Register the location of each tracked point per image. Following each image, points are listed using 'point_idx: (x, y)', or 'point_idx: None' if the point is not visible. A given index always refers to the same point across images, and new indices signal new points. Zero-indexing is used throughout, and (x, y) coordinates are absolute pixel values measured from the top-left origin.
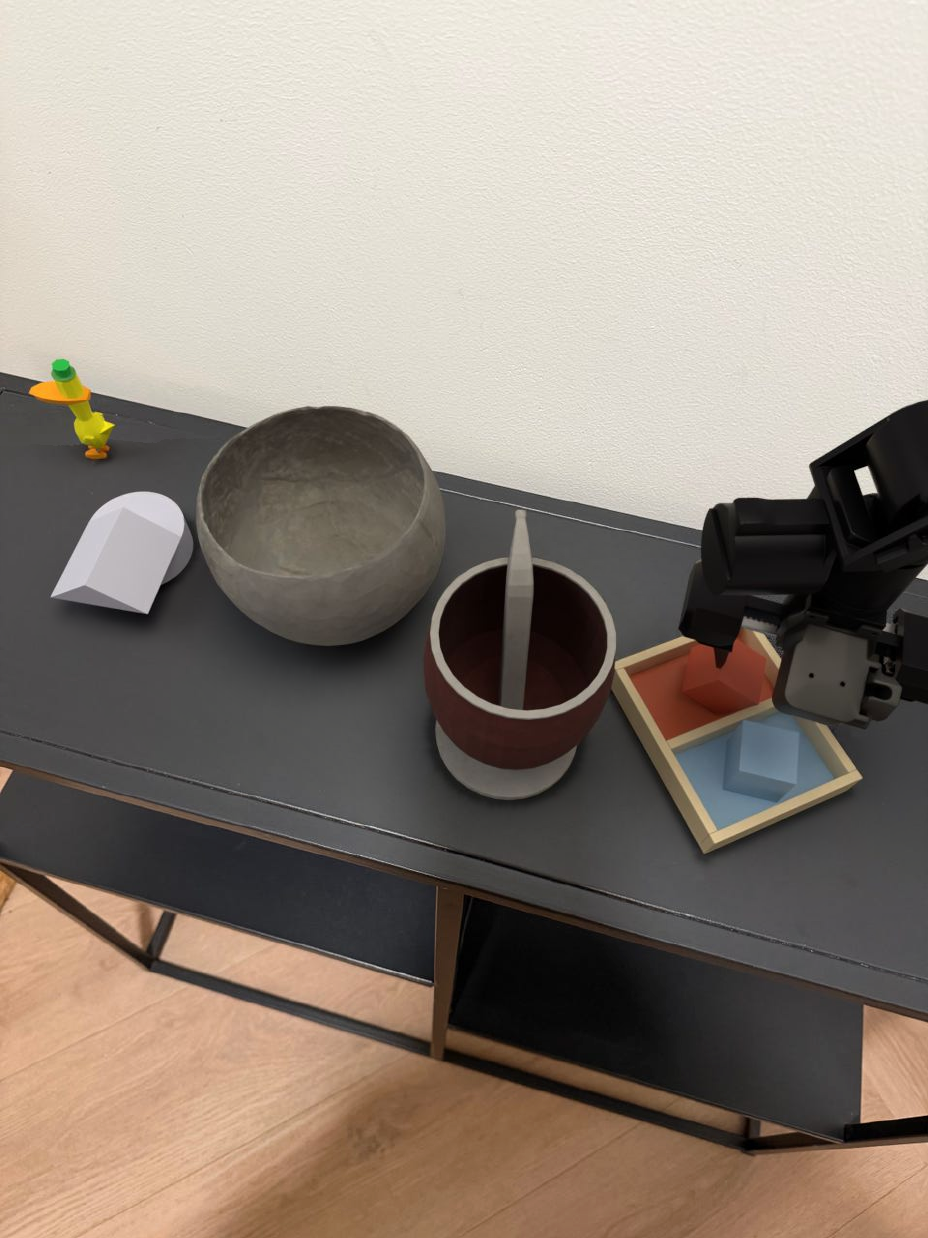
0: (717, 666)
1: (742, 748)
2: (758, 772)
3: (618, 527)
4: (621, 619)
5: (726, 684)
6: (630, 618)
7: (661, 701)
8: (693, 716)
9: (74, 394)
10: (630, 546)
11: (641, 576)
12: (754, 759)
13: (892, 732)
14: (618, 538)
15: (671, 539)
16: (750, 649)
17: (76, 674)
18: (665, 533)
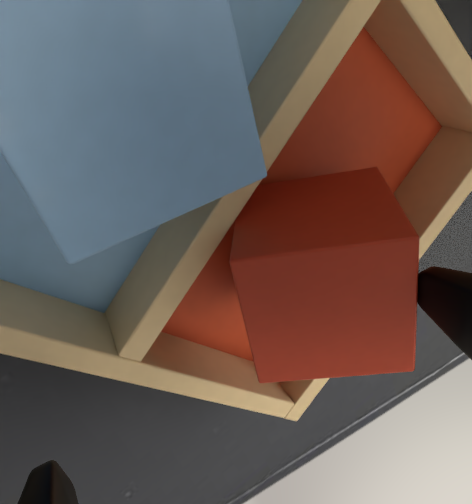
0: (444, 270)
1: (235, 53)
2: None
3: (453, 361)
4: (434, 245)
5: (383, 241)
6: (422, 257)
7: (361, 133)
8: (291, 144)
9: None
10: (436, 352)
11: (417, 328)
12: (174, 27)
13: None
14: (452, 349)
15: (389, 402)
16: (323, 375)
17: None
18: (398, 402)
